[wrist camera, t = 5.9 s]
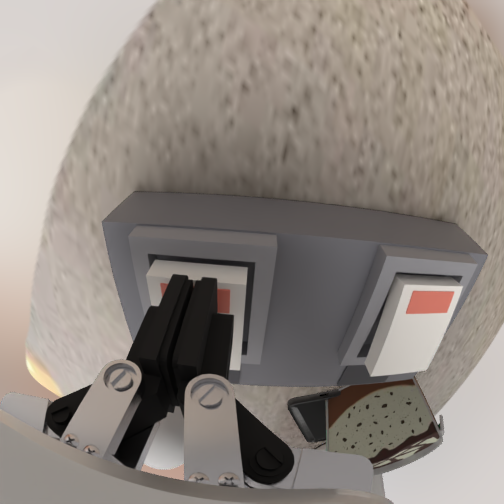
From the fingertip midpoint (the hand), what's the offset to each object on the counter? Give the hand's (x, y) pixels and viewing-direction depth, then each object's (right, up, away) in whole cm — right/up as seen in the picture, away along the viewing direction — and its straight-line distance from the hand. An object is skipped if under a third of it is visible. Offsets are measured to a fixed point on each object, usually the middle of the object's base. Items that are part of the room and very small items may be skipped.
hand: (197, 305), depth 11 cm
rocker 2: (+11, -2, +2) cm, 11 cm away
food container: (+15, -12, +15) cm, 25 cm away
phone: (+12, -18, +19) cm, 29 cm away
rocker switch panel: (+5, 0, +8) cm, 9 cm away
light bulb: (-6, -10, +15) cm, 19 cm away
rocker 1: (0, -1, +2) cm, 2 cm away
